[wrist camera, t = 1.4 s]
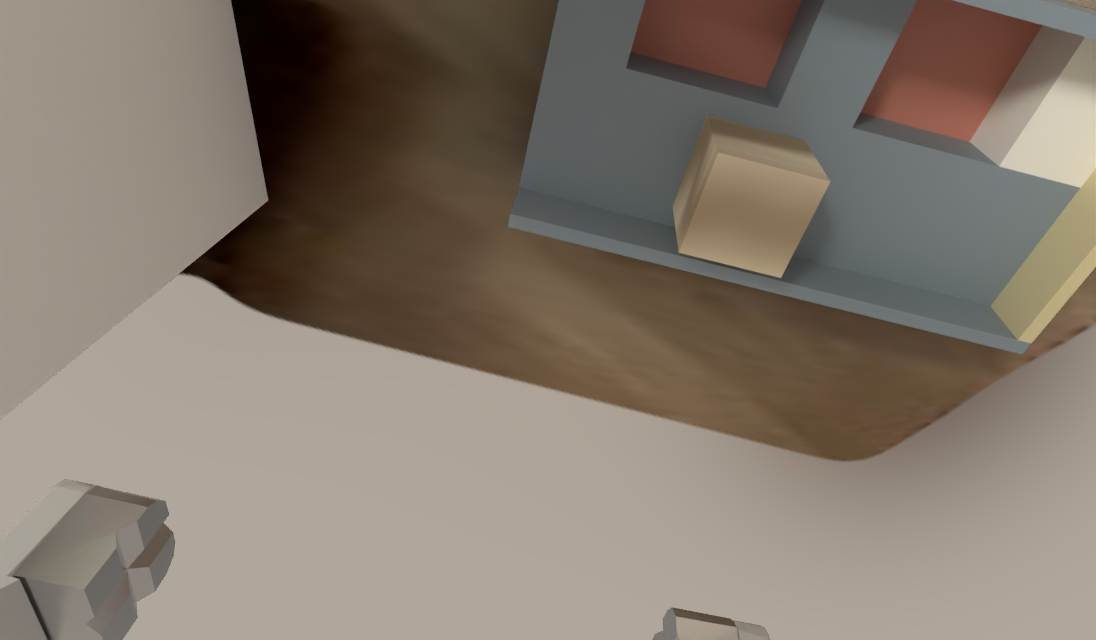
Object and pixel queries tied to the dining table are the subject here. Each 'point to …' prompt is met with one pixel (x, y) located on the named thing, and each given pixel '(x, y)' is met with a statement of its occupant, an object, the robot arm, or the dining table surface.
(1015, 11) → the box
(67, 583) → the robot arm
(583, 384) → the dining table surface
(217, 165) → the milk
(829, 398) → the dining table surface
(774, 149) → the block
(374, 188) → the dining table surface
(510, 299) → the dining table surface
